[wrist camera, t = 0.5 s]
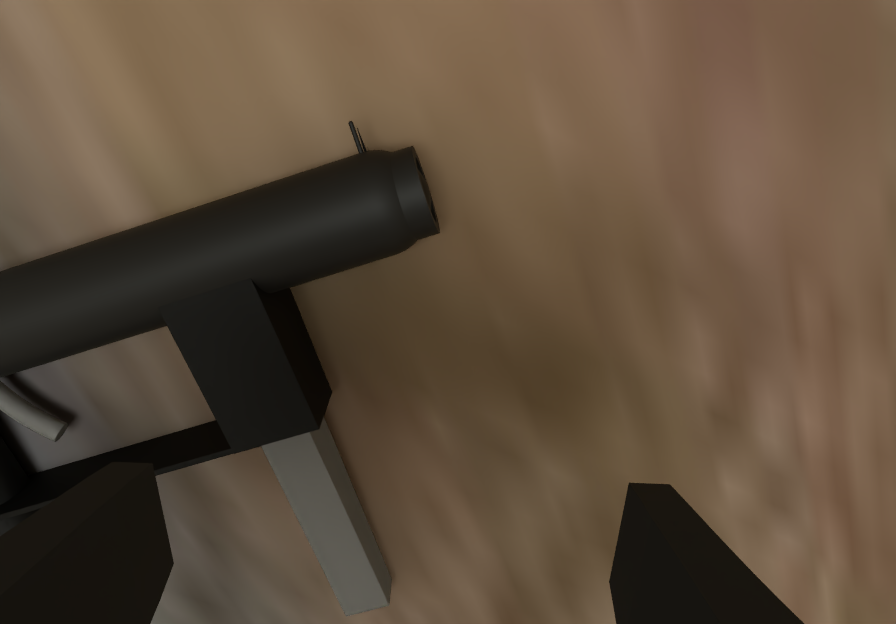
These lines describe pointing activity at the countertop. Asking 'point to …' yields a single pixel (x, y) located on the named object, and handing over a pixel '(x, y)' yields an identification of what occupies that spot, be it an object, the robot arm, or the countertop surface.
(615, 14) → the countertop surface
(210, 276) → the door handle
